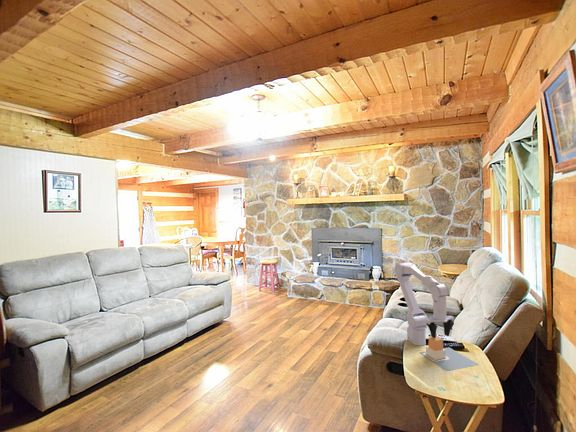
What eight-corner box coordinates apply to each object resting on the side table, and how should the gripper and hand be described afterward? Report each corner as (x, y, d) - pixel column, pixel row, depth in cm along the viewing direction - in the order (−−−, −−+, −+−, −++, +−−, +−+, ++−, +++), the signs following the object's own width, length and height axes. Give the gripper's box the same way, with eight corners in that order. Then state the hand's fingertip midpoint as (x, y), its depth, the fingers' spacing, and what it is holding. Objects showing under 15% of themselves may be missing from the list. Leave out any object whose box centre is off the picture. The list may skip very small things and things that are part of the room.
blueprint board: (419, 353, 152) (419, 352, 152) (449, 348, 157) (448, 347, 157) (446, 372, 135) (446, 371, 135) (479, 365, 139) (479, 364, 139)
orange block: (428, 346, 149) (428, 336, 149) (436, 345, 150) (436, 335, 150) (435, 351, 145) (435, 340, 145) (443, 349, 146) (443, 339, 146)
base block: (426, 354, 150) (426, 346, 150) (436, 352, 152) (436, 344, 151) (435, 360, 144) (435, 351, 144) (445, 358, 146) (445, 350, 146)
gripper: (432, 313, 143) (433, 341, 143) (458, 310, 146) (458, 337, 147) (422, 308, 149) (423, 335, 150) (447, 305, 153) (447, 331, 153)
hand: (440, 336), depth 149 cm, fingers open, 7 cm apart
